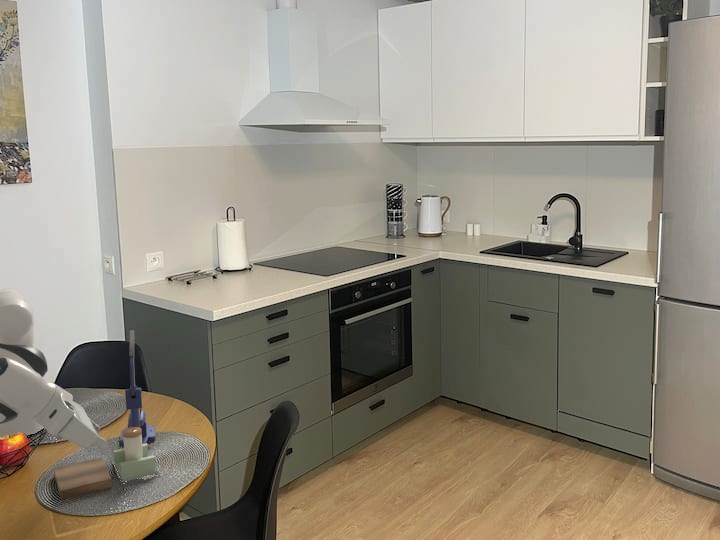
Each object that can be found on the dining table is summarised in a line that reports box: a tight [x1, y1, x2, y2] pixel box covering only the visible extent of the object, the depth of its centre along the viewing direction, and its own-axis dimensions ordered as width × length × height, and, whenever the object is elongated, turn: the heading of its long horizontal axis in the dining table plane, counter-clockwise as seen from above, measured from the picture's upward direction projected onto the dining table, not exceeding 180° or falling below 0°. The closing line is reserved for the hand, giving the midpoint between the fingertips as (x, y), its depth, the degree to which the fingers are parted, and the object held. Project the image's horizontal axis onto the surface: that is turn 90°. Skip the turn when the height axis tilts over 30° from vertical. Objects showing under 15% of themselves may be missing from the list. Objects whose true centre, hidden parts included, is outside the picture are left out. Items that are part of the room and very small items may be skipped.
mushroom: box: [121, 427, 143, 462], centre depth 166 cm, size 4×4×9 cm
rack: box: [113, 443, 158, 482], centre depth 166 cm, size 10×8×4 cm
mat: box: [118, 468, 162, 488], centre depth 167 cm, size 14×9×1 cm, turn 30°
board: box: [53, 457, 113, 501], centre depth 161 cm, size 12×11×2 cm
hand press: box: [120, 330, 156, 446], centre depth 181 cm, size 19×9×28 cm, turn 17°
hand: (102, 437), depth 161 cm, fingers open, 8 cm apart
